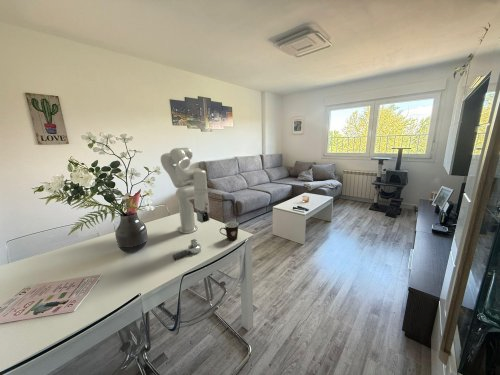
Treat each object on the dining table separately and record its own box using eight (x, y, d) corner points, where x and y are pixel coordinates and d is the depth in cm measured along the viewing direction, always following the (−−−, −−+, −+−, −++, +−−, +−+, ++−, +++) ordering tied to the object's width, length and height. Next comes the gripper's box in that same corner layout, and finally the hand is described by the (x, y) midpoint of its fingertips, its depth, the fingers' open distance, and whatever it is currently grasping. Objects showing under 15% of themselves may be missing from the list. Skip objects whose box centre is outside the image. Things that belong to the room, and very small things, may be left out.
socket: (197, 220, 126) (196, 211, 124) (204, 218, 129) (204, 209, 128) (201, 223, 122) (201, 213, 120) (209, 220, 125) (208, 211, 124)
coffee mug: (239, 235, 137) (239, 221, 134) (237, 242, 129) (237, 227, 126) (222, 235, 138) (222, 221, 136) (219, 241, 130) (218, 227, 127)
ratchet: (171, 256, 114) (170, 245, 112) (197, 246, 124) (196, 236, 122) (176, 262, 109) (175, 250, 107) (203, 251, 119) (202, 240, 117)
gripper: (188, 189, 124) (190, 217, 129) (203, 195, 112) (205, 225, 117) (199, 187, 129) (201, 214, 134) (214, 192, 117) (216, 221, 122)
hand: (203, 219), depth 125 cm, fingers closed on socket, 5 cm apart
